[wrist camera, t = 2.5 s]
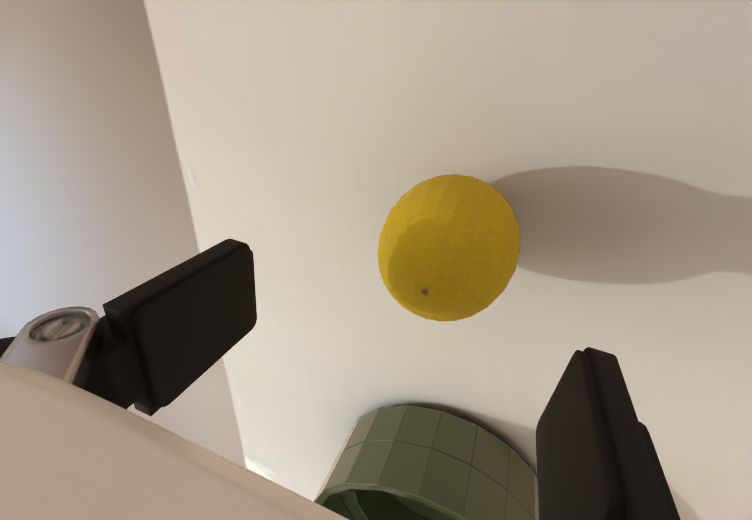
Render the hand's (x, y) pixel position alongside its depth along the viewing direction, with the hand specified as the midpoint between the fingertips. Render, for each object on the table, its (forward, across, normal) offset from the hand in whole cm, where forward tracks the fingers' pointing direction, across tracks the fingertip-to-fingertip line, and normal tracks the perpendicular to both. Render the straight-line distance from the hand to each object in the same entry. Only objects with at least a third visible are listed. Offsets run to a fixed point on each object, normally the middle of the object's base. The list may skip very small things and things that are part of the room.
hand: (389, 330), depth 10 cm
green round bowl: (+10, -4, +21) cm, 23 cm away
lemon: (+10, -1, 0) cm, 10 cm away
